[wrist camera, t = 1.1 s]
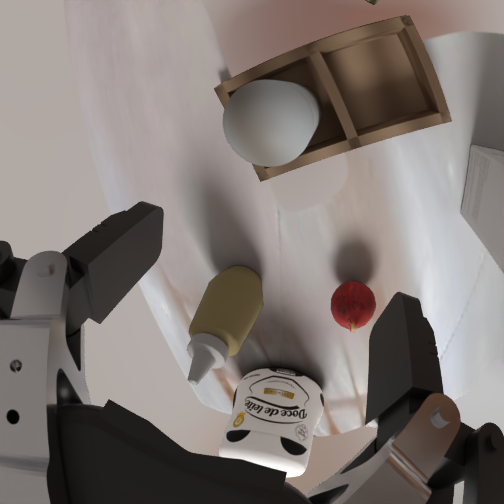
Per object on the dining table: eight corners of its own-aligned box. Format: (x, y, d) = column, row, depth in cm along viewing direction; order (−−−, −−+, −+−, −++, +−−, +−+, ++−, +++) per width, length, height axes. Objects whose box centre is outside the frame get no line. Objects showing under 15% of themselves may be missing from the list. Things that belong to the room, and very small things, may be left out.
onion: (324, 283, 40) (318, 324, 33) (358, 262, 36) (359, 302, 30) (348, 309, 41) (346, 351, 34) (381, 290, 38) (385, 332, 31)
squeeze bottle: (240, 309, 47) (195, 404, 32) (206, 272, 44) (146, 363, 30) (280, 291, 42) (244, 398, 28) (246, 248, 40) (189, 349, 26)
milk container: (299, 350, 48) (275, 445, 34) (340, 398, 53) (327, 478, 39) (225, 367, 57) (192, 442, 42) (271, 409, 62) (250, 476, 47)
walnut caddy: (403, 18, 20) (441, -20, 9) (445, 119, 24) (503, 145, 13) (221, 85, 29) (155, 91, 18) (266, 176, 34) (226, 228, 23)
